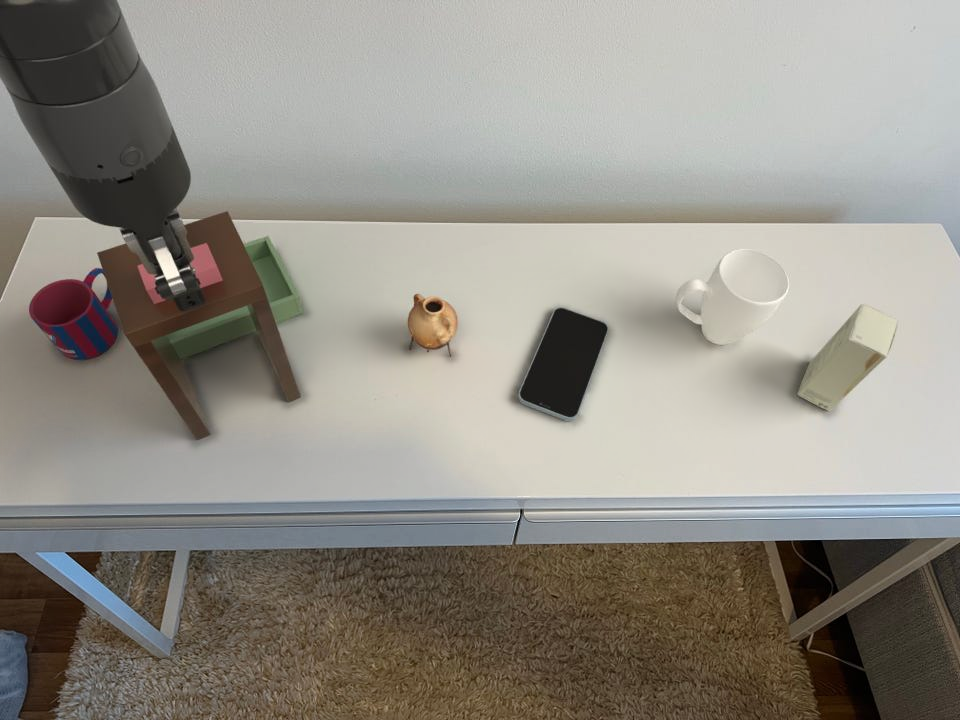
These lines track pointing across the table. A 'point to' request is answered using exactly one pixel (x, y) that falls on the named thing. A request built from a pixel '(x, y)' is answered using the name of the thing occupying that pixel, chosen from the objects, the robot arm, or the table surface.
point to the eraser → (201, 263)
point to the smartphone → (563, 364)
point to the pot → (432, 323)
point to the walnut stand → (193, 313)
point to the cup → (75, 317)
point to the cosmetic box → (848, 357)
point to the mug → (737, 295)
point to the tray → (240, 321)
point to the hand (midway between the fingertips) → (191, 302)
